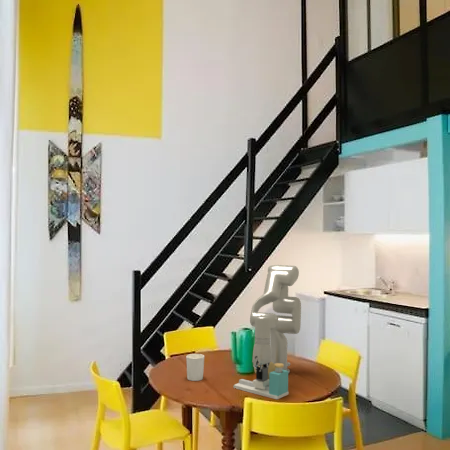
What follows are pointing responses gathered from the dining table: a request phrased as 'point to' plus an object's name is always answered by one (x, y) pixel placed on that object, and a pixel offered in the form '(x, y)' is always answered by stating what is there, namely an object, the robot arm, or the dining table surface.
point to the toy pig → (270, 369)
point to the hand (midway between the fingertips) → (262, 377)
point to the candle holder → (195, 366)
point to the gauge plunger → (278, 367)
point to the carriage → (264, 381)
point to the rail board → (258, 391)
